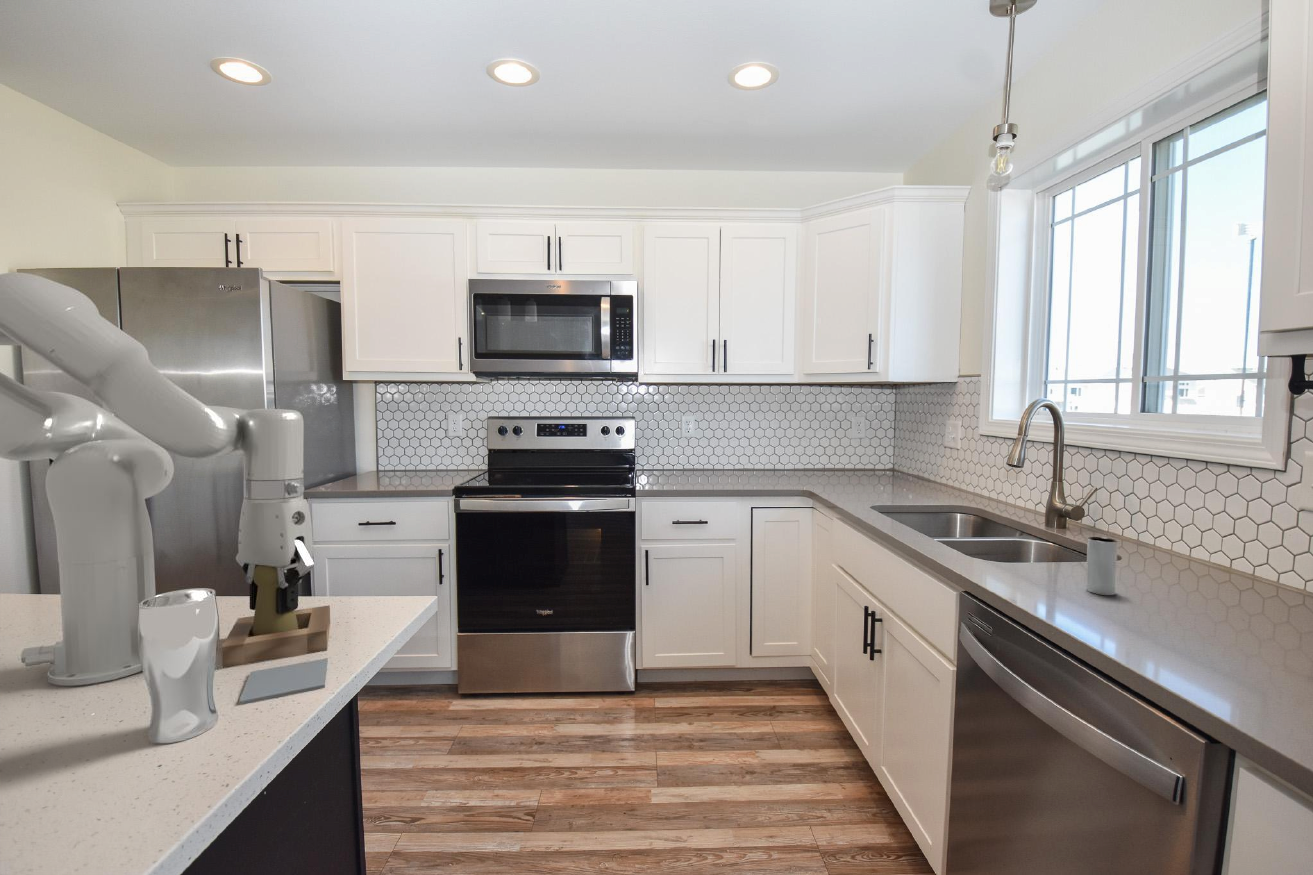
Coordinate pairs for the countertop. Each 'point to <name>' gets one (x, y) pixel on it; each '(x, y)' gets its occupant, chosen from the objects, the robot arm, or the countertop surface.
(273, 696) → the rubber mat
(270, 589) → the olive rounded peg
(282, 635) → the wooden square frame
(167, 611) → the beer glass
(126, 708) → the countertop surface
